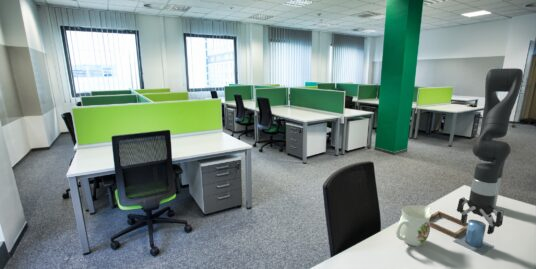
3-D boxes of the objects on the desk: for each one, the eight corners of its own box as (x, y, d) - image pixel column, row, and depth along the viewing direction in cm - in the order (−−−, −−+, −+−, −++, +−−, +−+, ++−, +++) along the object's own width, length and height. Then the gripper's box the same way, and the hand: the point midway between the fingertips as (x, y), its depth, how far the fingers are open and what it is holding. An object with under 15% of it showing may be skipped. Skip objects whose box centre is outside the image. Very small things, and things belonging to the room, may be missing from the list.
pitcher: (383, 240, 110) (387, 210, 107) (413, 229, 117) (416, 200, 114) (407, 256, 100) (411, 223, 97) (437, 243, 108) (442, 212, 105)
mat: (465, 233, 114) (465, 233, 114) (493, 246, 106) (493, 245, 105) (453, 241, 109) (453, 240, 109) (482, 255, 101) (482, 254, 100)
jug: (468, 237, 111) (472, 218, 109) (484, 244, 106) (488, 224, 104) (459, 243, 107) (462, 223, 105) (475, 251, 102) (479, 230, 100)
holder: (438, 214, 130) (438, 211, 129) (471, 228, 118) (472, 224, 117) (421, 222, 122) (422, 219, 122) (455, 238, 111) (456, 234, 110)
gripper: (510, 195, 98) (502, 234, 102) (466, 182, 110) (460, 217, 114) (502, 200, 94) (494, 240, 98) (457, 186, 106) (451, 222, 110)
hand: (476, 228), depth 106 cm, fingers open, 8 cm apart
